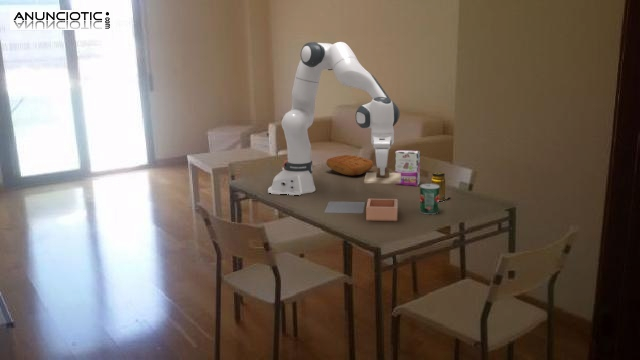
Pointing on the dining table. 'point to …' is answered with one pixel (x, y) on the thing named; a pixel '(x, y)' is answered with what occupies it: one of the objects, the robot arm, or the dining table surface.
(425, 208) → the canned tomato
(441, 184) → the condiment
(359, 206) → the mat
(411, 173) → the candy bar box
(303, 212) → the dining table surface
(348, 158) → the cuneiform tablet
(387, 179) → the lid
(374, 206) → the rectangular open box
